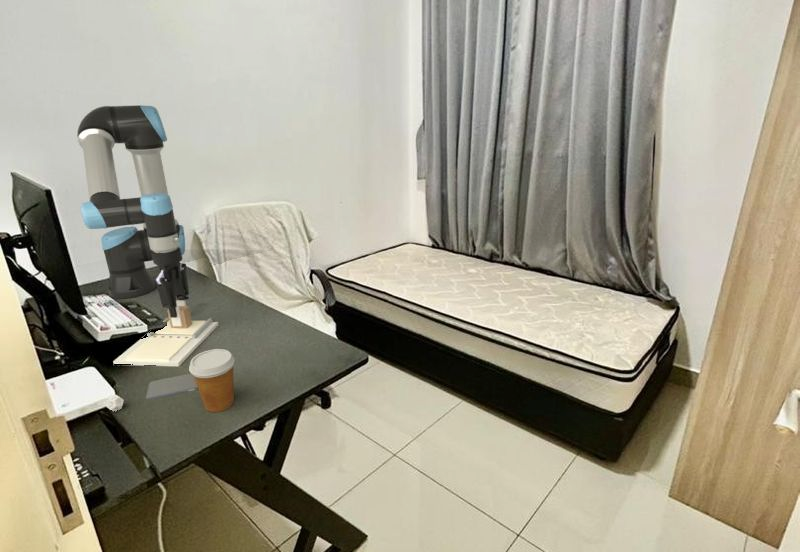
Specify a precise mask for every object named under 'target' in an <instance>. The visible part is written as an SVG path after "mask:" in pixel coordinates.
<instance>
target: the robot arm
mask: <svg viewBox="0 0 800 552" xmlns="http://www.w3.org/2000/svg"><path fill="white" fill-rule="evenodd" d="M76 136H77V142H78V145H79V146H80V148H82V152H83V159H84V167H85V175H86V182H87V191H88V198H89V199H88V200H89V201H87V202H86V201H85V202H83V203H81V205H80V210H81V215H82V216H81V217H82V221H83V223H84V225H85V227H86V228H87V229H89V230H98V229H99V230H100V229H105V230H106V229H108V228H115V229H113V230H110V231H108V232H106V233H104V234H103V235H102V236H101V245H102V246H101V247H102V248H101V249H102V250H103V252H104V256H105V261H106V264H107V269H108V273H109V276H108V286H107V291H108V295H109V297H110V296H111V298H114V299H129V298H135V297H140V296H143V295H145V294H148V293H150V292H152V291H154V290H155V289H156V288H157V289H156V290H157V292H158V295H159V299H160V302H161V305H162V308H163V309H167V308H168V309H169V312H170V316H171V320H172V325H173V326H183V324H182V319H181V314H180V309H179V306H187V301H188V300H189V299H190V298H189V294H190V292H189V291H190V290H189V283H188V278H187V277H188V275H187V263H185V262H184V263H181V261H182V260H183V255H184V254H185V252H186V238H185V237H186V236H185V228H184V226H183V225H181V224H179V221H178V220H177V219H175V214H174V206H173V202H172V199H171V196H170V195H169V191H168V186H167V180H166V175H165V170H164V165H163V162H162V156H161V152H162V150H163V149H164V148H165V145H164V143H165V142H167V141H168V137H167V135H166V131H165V128H164V124H163V122H162V118H161V116H160V114H159V111H158V109H157V108H156V107H155V106H153V105H141V104H140V105H116V106H115V105H104V106H103V105H102V106H99V107H97V108H95V109H92V110H91V111H90V112H88V113H87V114H86V115H85V116H84V117H83V119H82V120H81V121H80V123H79V126H78V128H77V135H76ZM115 144H124V146H125V149H126V151H129V152H130V153H131V156H132V159H133V163H134V169H135V174H136V178H137V183H138V186H139V191H140V197H131V198H130V197H129V198H121V195H120V189H119V184H118V183H119V182H118V178H117V177H118V176H117V172H116V165H115V160H114V154H113V148H114V147H115ZM142 224H143V225H142ZM133 225H142V226H143V229H139V230H138V228H137V226H133ZM122 226H123V227H122ZM117 227H119V228H117ZM152 261H153V264H154V265H156V266H157V267H158V276H157V277H154V278H152V276H151V274H150V272H149V270H148V269H147V268H146V264H145V262H152ZM186 300H187V301H186Z"/></svg>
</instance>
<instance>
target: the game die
mask: <svg viewBox="0 0 800 552" xmlns="http://www.w3.org/2000/svg"><path fill="white" fill-rule="evenodd" d="M124 401H125V400H124V399H123V398H122V397H120V396H119V395H118V394H115V395H112V396H109V397H108V400H107V402H108V403H107V402H106V405H107V406H105V408H107V409H109V410H110V411H111V410H112V412H114V411H115V412H118V411H119V410H120V409H121V410H122V408H123V405H124V403H125V402H124ZM117 410H118V411H117ZM115 412H114V413H115Z"/></svg>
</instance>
